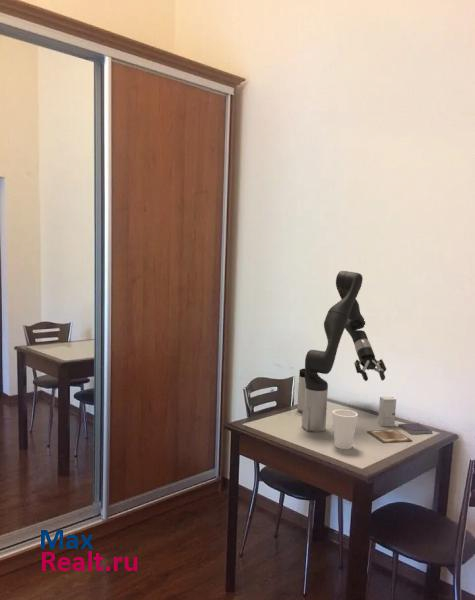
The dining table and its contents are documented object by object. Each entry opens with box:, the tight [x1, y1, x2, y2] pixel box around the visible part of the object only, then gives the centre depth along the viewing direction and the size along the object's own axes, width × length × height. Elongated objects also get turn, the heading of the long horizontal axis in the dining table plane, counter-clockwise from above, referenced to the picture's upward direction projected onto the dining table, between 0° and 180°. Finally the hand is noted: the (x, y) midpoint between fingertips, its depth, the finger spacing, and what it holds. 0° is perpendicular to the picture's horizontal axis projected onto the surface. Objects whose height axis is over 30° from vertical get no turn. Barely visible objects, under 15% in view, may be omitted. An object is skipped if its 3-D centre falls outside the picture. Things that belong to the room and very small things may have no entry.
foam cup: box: [331, 409, 359, 450], centre depth 196 cm, size 10×9×13 cm
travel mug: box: [297, 368, 306, 414], centre depth 240 cm, size 6×7×20 cm
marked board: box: [366, 429, 413, 444], centre depth 210 cm, size 13×13×1 cm
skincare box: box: [377, 396, 397, 427], centre depth 224 cm, size 6×4×12 cm
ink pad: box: [397, 422, 433, 435], centre depth 219 cm, size 10×10×1 cm
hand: (375, 379), depth 235 cm, fingers open, 8 cm apart
